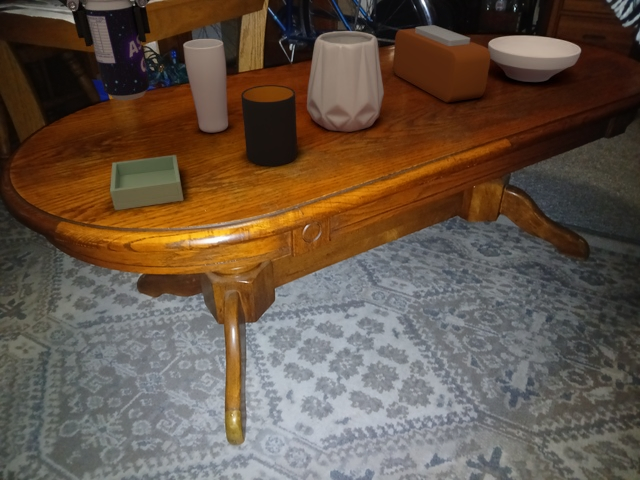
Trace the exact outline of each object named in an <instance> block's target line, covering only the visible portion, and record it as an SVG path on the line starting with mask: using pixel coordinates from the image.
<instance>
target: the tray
mask: <svg viewBox="0 0 640 480" xmlns="http://www.w3.org/2000/svg"><path fill="white" fill-rule="evenodd" d="M177 157H178V156H177V155H176V154H172V155H164V156H156V157H147V158H140V159H139V158H138V159H131V160H123V161H116V162H111V163H112V164H111V174H110V175H111V176H110V188H109V193H110V197H111V200H112V204H113V208H114V211H121V210H127V209H135V208H142V207H149V206H156V205H162V204H163V205H164V204H169V203H177V202H183V201H184V193H183V188H182V181H181V176H180V169H179V164H178V158H177Z"/></svg>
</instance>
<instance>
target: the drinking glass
mask: <svg viewBox="0 0 640 480" xmlns="http://www.w3.org/2000/svg"><path fill="white" fill-rule="evenodd" d="M182 46H183V55H184V64H185V69H186V74H187V79H188V83H189V86H190V87H189V88H190V91H191V95H192V100H193V104H194V109H195V113H196V118H197V123H198V124H197V125H198V128H199V129H200V131H202V132H204V133H208V134H209V133H210V134H215V133H220V132H224V131H225V130H227V129H228V127H229V116H228V115H229V114H228V92H227V91H228V87H227V85H228V82H227V78H228V77H227V61H226V60H227V59H226V53H225V46H224V42H223V41H222V40H219V39H216V38H215V39H214V38H198V39H192V40H188V41H185V42H184V43H183V44H182Z"/></svg>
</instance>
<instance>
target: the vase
mask: <svg viewBox="0 0 640 480" xmlns="http://www.w3.org/2000/svg"><path fill="white" fill-rule="evenodd" d="M379 51H380V50H379V42H378V39H377V37H376V36H375V35H374V34H371V33H368V32H362V31H355V30H342V31H341V30H340V31H337V30H336V31H335V30H334V31H329V32H325V33H322V34H320V35H319V36H317V38H316V39H315V41H314V45H313V51H312V59H311V64H310V73H309V77H308V83H307V91H306V92H307V94H306V96H307V97H306V109H307V112H308V114H309V115H310V118H311V119H312V120H313V122H315V124H317V125H319V126H321V127H322V128H324V129H325V130H327V131H333V132H344V133H345V132H346V133H352V132H357V131H360V130H364V129H368V128H370V127H372V125H374V123H375V122H376V120H377V119H379V117H380V113H381V107H382V104H383V100H384V95H385V90H384V85H383V83H384V82H383V76H382V70H381V60H380V52H379Z"/></svg>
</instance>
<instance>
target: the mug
mask: <svg viewBox="0 0 640 480" xmlns="http://www.w3.org/2000/svg"><path fill="white" fill-rule="evenodd" d="M240 95H241V96H240V97H241V99H240V100H241V109H242V120H243V129H244V139H245V141H244V142H245V150H246V151H245V152H246V158H247V160H248V161H249V162H250V163H252V164H254V165H256V166H262V167H279V166H284V165H287V164H290V163H292V162H293V161H295V160H296V158H297V157H298V136H297V135H298V133H297V109H296V108H297V105H296V104H297V103H296V92H295V90H294V89H292V88H291V87H289V86H283V85H279V84H278V85H277V84H264V85H257V86H253V87H250V88H247V89H245V90H243V91H242V92H241V94H240Z"/></svg>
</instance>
